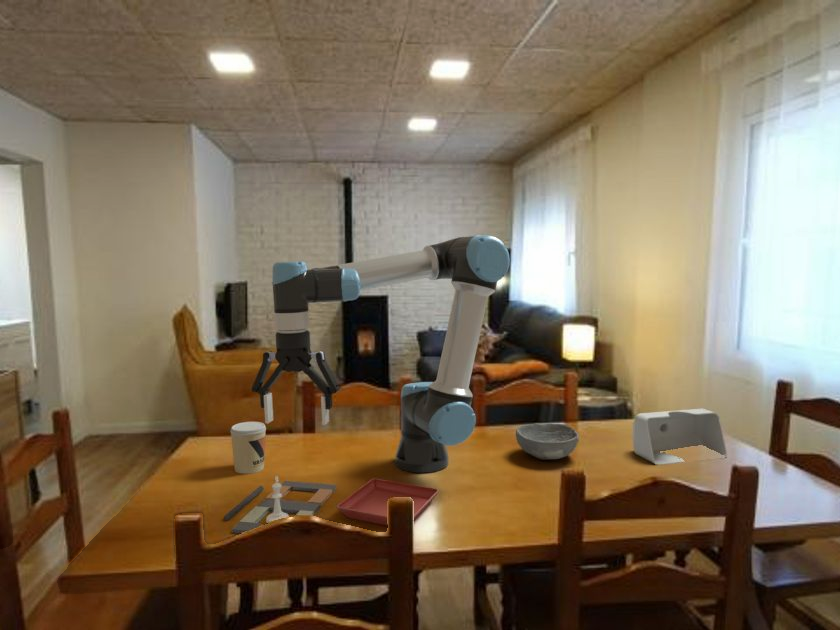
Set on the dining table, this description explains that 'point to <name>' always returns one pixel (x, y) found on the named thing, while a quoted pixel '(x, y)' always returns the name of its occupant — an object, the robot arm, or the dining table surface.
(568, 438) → the bowl
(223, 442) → the dining table surface
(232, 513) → the rod
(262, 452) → the coffee cup
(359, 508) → the plant saucer
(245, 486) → the dining table surface
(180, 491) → the dining table surface
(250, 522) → the panel
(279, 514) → the chess piece
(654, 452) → the grey plastic housing
